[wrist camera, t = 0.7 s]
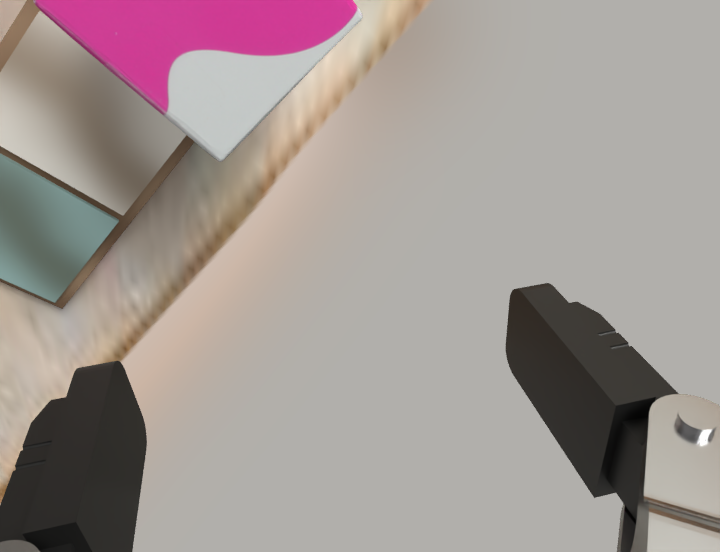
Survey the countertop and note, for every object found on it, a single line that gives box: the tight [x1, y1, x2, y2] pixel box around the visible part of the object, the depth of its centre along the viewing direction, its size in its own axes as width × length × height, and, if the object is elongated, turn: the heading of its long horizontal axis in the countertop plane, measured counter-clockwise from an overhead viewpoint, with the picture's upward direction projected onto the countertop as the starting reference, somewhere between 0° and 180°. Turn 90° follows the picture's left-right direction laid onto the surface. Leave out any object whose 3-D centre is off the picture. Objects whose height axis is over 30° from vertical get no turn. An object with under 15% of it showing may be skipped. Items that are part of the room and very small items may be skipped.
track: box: [0, 0, 195, 308], centre depth 24 cm, size 28×8×1 cm, turn 136°
